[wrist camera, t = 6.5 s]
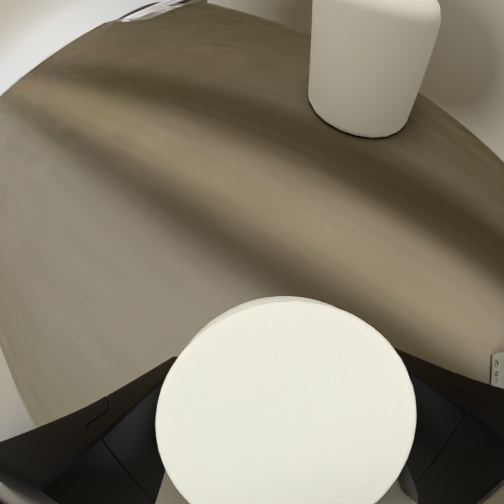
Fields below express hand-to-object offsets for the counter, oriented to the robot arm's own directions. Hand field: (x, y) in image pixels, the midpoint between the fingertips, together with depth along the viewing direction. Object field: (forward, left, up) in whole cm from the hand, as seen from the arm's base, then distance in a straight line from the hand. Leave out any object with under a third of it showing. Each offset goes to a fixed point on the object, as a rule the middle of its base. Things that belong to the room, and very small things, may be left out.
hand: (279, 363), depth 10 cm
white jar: (+10, -29, -13) cm, 33 cm away
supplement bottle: (-1, +1, -7) cm, 7 cm away
